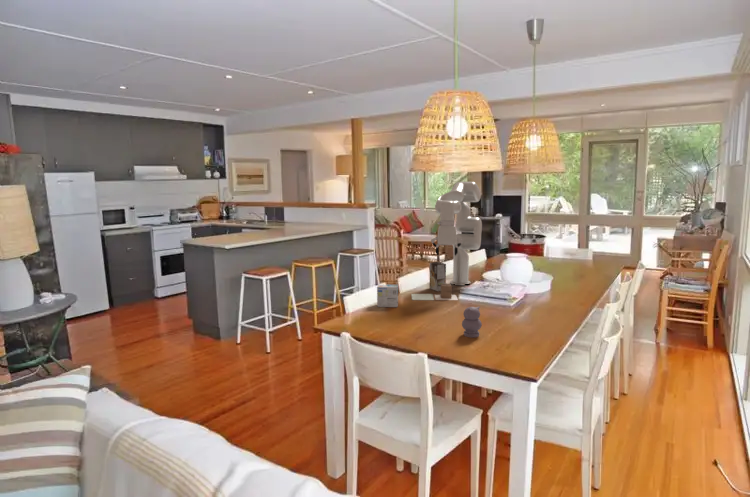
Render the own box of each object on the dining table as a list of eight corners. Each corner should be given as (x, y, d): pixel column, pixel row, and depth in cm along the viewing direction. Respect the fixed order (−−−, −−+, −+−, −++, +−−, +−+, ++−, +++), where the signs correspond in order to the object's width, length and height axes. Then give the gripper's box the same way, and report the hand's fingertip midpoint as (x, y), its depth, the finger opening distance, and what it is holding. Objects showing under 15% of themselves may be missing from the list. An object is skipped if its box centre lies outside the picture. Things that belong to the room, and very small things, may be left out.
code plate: (434, 294, 262) (434, 294, 262) (455, 295, 262) (455, 294, 262) (436, 300, 250) (436, 299, 250) (458, 300, 250) (458, 299, 250)
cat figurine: (470, 330, 198) (470, 303, 197) (485, 334, 193) (486, 307, 191) (457, 334, 193) (458, 307, 191) (472, 339, 187) (473, 310, 185)
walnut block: (440, 295, 259) (440, 283, 258) (450, 296, 259) (450, 283, 258) (441, 298, 254) (441, 285, 253) (451, 298, 253) (451, 285, 252)
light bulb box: (398, 304, 243) (398, 284, 241) (397, 307, 236) (397, 287, 235) (378, 303, 244) (378, 283, 242) (376, 307, 237) (376, 286, 236)
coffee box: (446, 290, 273) (446, 263, 271) (437, 291, 271) (437, 264, 268) (437, 287, 282) (438, 261, 279) (428, 288, 279) (429, 262, 277)
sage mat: (411, 294, 264) (411, 293, 264) (432, 294, 263) (432, 293, 263) (412, 300, 250) (412, 299, 250) (434, 300, 250) (434, 299, 250)
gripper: (431, 224, 247) (431, 255, 249) (464, 224, 246) (463, 256, 249) (430, 223, 255) (430, 253, 257) (462, 223, 254) (461, 254, 256)
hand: (446, 255), depth 253 cm, fingers open, 9 cm apart
